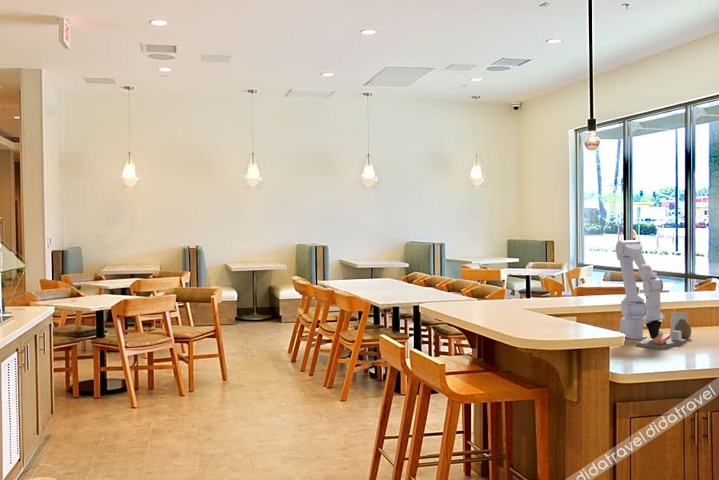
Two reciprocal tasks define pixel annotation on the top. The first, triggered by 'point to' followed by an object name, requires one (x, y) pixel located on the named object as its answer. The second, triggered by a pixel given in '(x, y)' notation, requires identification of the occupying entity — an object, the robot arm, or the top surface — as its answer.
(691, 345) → the top surface
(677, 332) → the slotted white box
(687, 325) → the vase
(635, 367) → the top surface
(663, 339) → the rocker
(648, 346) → the console
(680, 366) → the top surface
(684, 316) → the grey rectangular block
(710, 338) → the top surface
